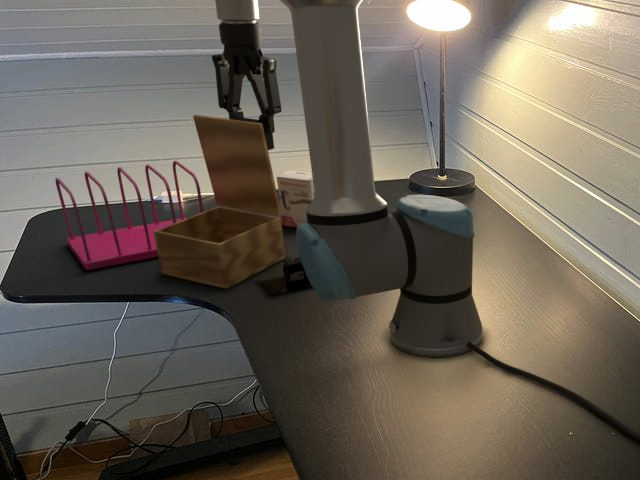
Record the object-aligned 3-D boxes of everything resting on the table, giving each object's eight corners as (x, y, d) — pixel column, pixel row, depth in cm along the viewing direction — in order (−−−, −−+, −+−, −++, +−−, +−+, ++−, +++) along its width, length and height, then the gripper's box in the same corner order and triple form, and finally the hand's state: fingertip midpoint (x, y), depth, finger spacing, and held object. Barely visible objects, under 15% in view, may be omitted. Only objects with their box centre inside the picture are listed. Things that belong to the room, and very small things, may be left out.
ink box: (281, 226, 168) (275, 175, 162) (292, 219, 172) (286, 169, 166) (315, 231, 166) (310, 179, 160) (325, 224, 170) (321, 173, 164)
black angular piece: (321, 271, 146) (319, 249, 143) (335, 284, 140) (334, 261, 138) (260, 282, 140) (257, 260, 137) (272, 296, 134) (270, 273, 132)
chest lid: (259, 124, 135) (281, 113, 140) (192, 115, 141) (215, 105, 145) (279, 216, 146) (298, 202, 151) (216, 204, 152) (237, 192, 157)
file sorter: (214, 247, 155) (201, 173, 148) (86, 272, 142) (66, 193, 134) (187, 224, 167) (175, 155, 160) (67, 246, 154) (47, 172, 146)
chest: (226, 288, 137) (219, 245, 132) (161, 273, 142) (153, 231, 138) (285, 258, 151) (280, 217, 147) (224, 245, 157) (218, 205, 152)
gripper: (293, 23, 136) (305, 149, 147) (212, 17, 142) (229, 138, 153) (268, 26, 129) (282, 157, 141) (184, 20, 136) (204, 146, 147)
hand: (254, 147), depth 147 cm, fingers closed on chest lid, 6 cm apart
